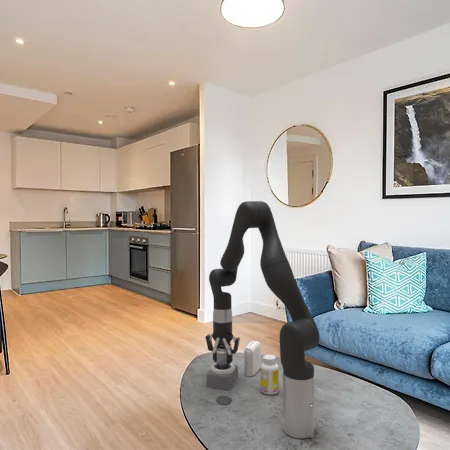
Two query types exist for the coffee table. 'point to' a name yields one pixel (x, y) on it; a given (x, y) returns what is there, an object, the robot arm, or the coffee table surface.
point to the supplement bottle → (269, 375)
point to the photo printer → (252, 358)
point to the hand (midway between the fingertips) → (222, 362)
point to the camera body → (222, 377)
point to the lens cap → (223, 400)
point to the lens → (222, 358)
